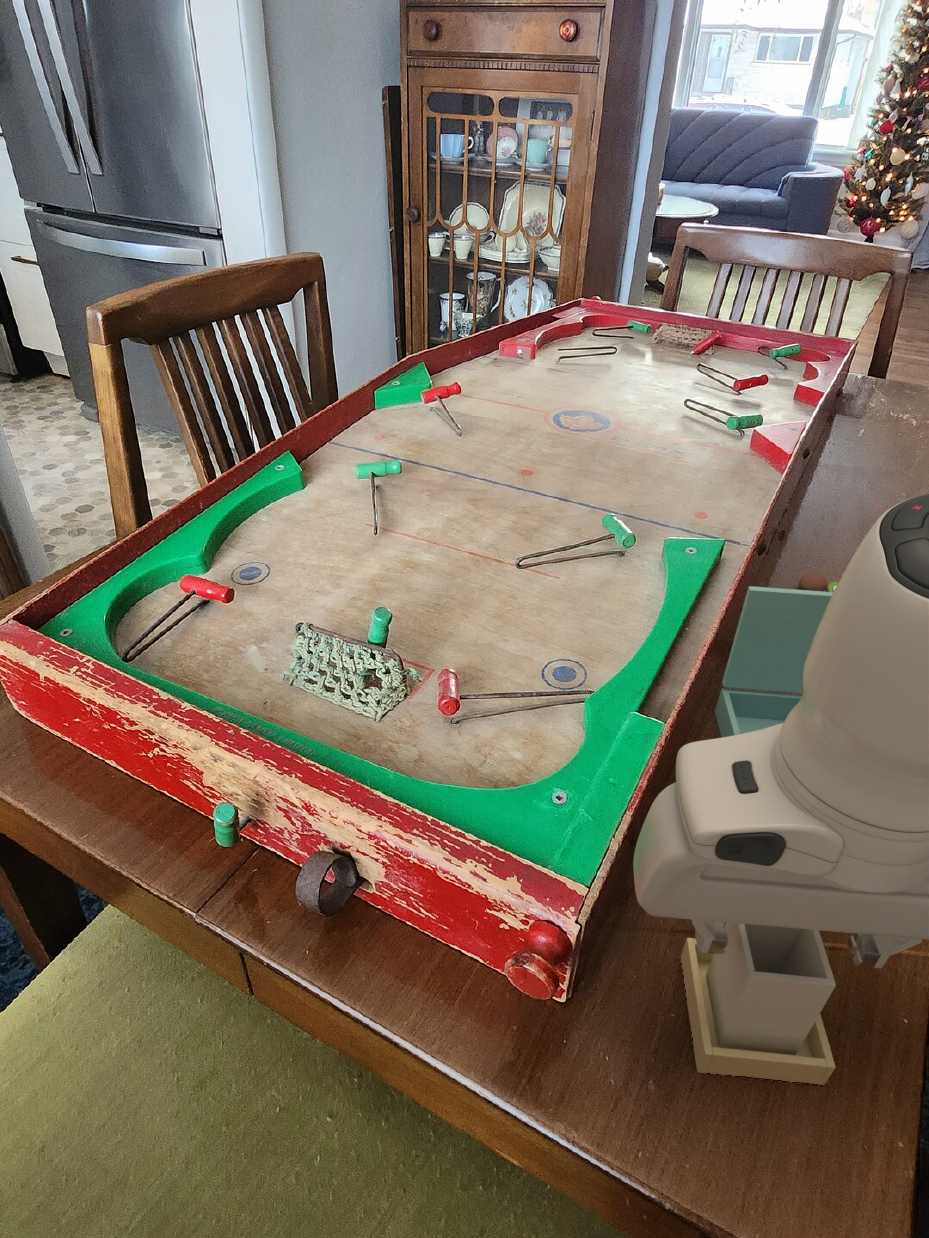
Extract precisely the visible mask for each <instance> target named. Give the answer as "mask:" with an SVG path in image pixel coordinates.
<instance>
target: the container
mask: <svg viewBox="0 0 929 1238" xmlns="http://www.w3.org/2000/svg"><path fill="white" fill-rule="evenodd" d="M724 929H725V930H726V931H727V936H728V944H727V947H726V948H724V951H725V952H724V954H714V955H713V958H712V961H711V963H710V966H709V968H708V971H707V973H706V978H707V984H708V990H709V996H710V1001H711V1007H712V1013H713V1019H714V1025H715V1031H716V1036H717V1042H718V1047H723V1048H733V1049H743V1050H752V1051H762V1052H771V1053H781V1054H791V1055H796V1054H797V1052H798V1050H799V1049H800V1047H801V1045H802V1043H803V1042H804V1040H805V1038H806V1037H807V1035H808V1033H809V1031H810V1030H811V1028H812V1026H813V1024H814V1023H815V1021H816V1019H817V1017H818V1016H819V1014H821V1013H822V1011H823V1009H824V1007H825V1006H826V1004H827V1002H828V1000H829V998H830V996H831V995H832V993H833V991H834V990H835V988H836V986H837V984H836V981H835V977H834V974H833V971H832V968H831V964H830V960H829V957H828V955H827V952H826V948H825V945H824V942H823V939H822V935H821V932H820V930H809V929H797V928H786V927H774V926H762V925H750V924H739V923H727V922H725V927H724Z"/></svg>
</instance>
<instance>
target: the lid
mask: <svg viewBox="0 0 929 1238" xmlns="http://www.w3.org/2000/svg"><path fill="white" fill-rule="evenodd" d="M833 593H834V592H826V591H823V592H822V591H808V590H800V589H795V588H794V589H793V588H780V587H765V586H751V585H749V586H748V588H747V590H746V594H745V598H744V602H743V606H742V609H741V613H740V616H739V619H738V624H737V626H736V631H735V635H734V638H733V640H732V641H733V642H732V645H731V649H730V653H729V656H728V659H727V664H726V667H725V670H724V674H723V678H722V681H721V684H722V688H723V687H724V688H730V689H743V690H755V691H768V692H781V693H793V694H803V669H804V664H805V661H806V658H807V655H808V652H809V649H810V647H811V644H812V641H813V639H814V636H815V634H816V631H817V629H818V626H819V624H820V621H821V619H822V617H823V614H824V612H825V610H826V607H827V605H828V603H829V601H830V599H831V597H832V595H833Z"/></svg>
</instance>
